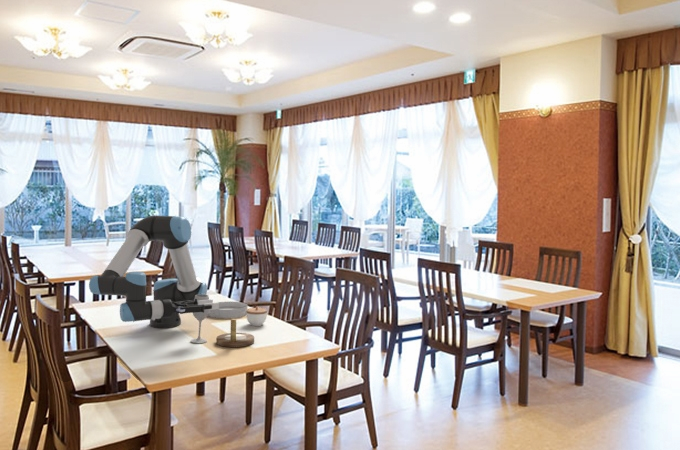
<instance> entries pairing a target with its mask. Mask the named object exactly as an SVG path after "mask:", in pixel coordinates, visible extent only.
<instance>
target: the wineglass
mask: <svg viewBox="0 0 680 450" xmlns="http://www.w3.org/2000/svg"><path fill="white" fill-rule="evenodd" d="M195 299H197V302H198V301H199V300H210V297H209V295H208V294H206V295H203V294H199V295H195V298H194V301H195ZM209 311H210V310H204V313H203V312H195V313H192V316H193V317H194V318H195V319H196V320H197V321H198V336H197V338H192V339H191V340H190V342H191V343H193V344H205V343H208V340H207V339H205V338H201V330H202V329H201V326H202V322H203V320H205V319H206V318H207V317H209V315H208V314H209Z"/></svg>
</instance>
